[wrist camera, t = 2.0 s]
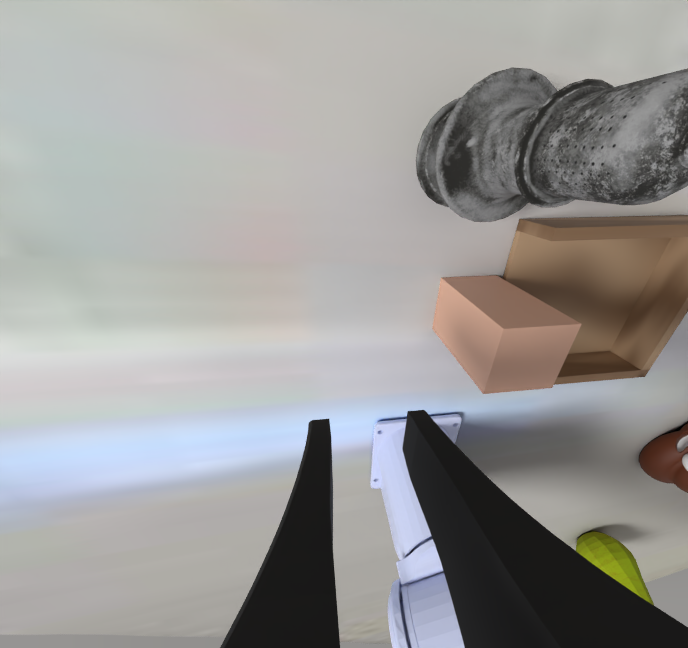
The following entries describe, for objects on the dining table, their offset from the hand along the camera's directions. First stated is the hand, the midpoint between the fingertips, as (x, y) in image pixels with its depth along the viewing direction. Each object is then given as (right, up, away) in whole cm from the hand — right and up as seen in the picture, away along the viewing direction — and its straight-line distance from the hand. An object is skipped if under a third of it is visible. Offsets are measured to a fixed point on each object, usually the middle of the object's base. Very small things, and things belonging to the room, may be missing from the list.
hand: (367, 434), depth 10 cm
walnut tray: (+16, +6, +11) cm, 20 cm away
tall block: (+8, +6, +10) cm, 14 cm away
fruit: (+36, -28, +32) cm, 56 cm away
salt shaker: (+6, +14, +6) cm, 16 cm away
